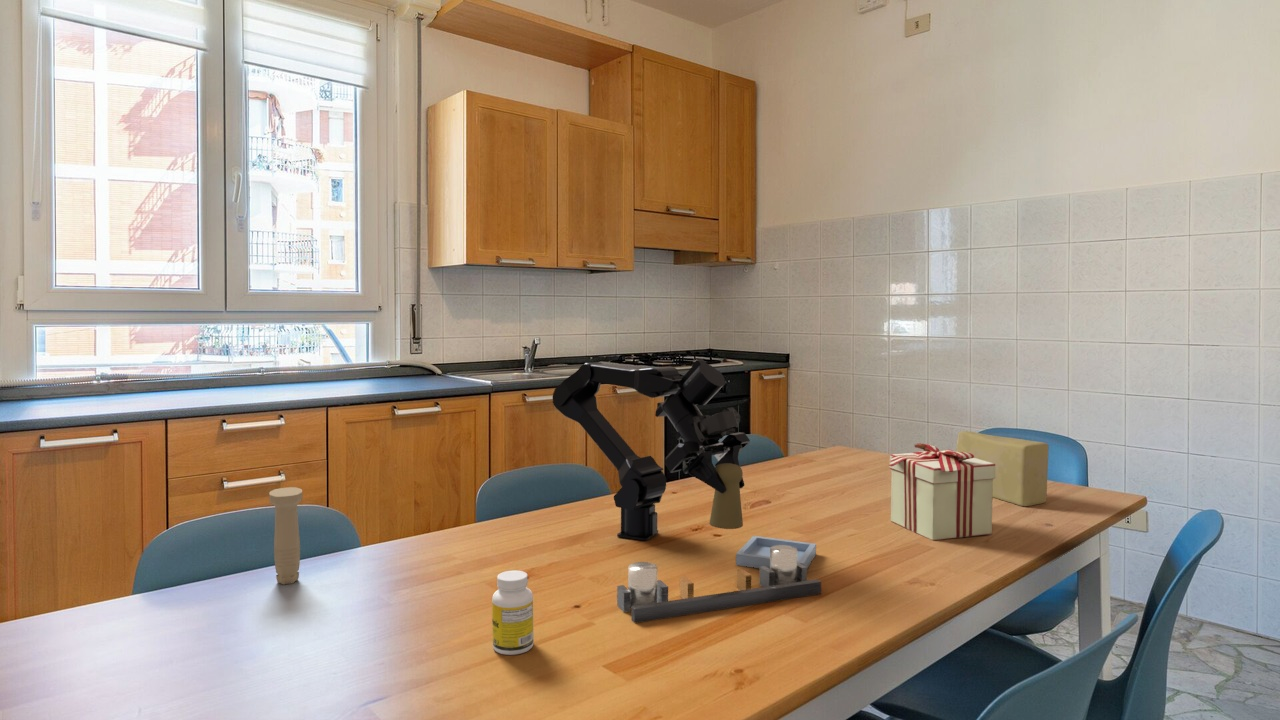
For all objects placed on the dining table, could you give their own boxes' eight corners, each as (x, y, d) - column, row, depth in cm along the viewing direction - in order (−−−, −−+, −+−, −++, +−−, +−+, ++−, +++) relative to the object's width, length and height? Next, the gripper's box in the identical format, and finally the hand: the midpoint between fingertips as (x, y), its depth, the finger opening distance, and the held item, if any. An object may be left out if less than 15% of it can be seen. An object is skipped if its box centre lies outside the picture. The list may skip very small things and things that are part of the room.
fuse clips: (615, 603, 114) (615, 565, 114) (794, 577, 126) (794, 542, 126) (633, 623, 107) (634, 582, 107) (821, 593, 119) (822, 557, 119)
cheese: (943, 488, 193) (945, 431, 192) (967, 484, 198) (969, 428, 197) (1023, 508, 174) (1026, 444, 173) (1048, 503, 178) (1051, 441, 178)
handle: (271, 590, 118) (269, 497, 118) (271, 577, 124) (269, 489, 123) (305, 585, 121) (303, 494, 120) (302, 573, 126) (301, 486, 125)
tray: (735, 564, 132) (735, 553, 132) (753, 545, 143) (753, 535, 143) (803, 574, 128) (803, 563, 127) (816, 554, 139) (816, 543, 138)
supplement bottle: (494, 638, 102) (494, 568, 101) (534, 637, 102) (534, 567, 101) (490, 657, 96) (489, 582, 96) (532, 655, 97) (532, 582, 96)
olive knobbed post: (747, 528, 132) (750, 467, 131) (715, 529, 131) (717, 467, 130) (736, 519, 138) (738, 460, 137) (705, 520, 137) (707, 461, 136)
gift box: (873, 523, 160) (875, 443, 159) (941, 515, 167) (943, 439, 165) (930, 546, 144) (932, 458, 143) (1002, 537, 151) (1005, 453, 150)
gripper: (679, 397, 129) (727, 471, 122) (743, 390, 142) (790, 456, 135) (645, 436, 135) (690, 508, 128) (710, 425, 148) (754, 490, 141)
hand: (733, 489), depth 133 cm, fingers closed on olive knobbed post, 5 cm apart
